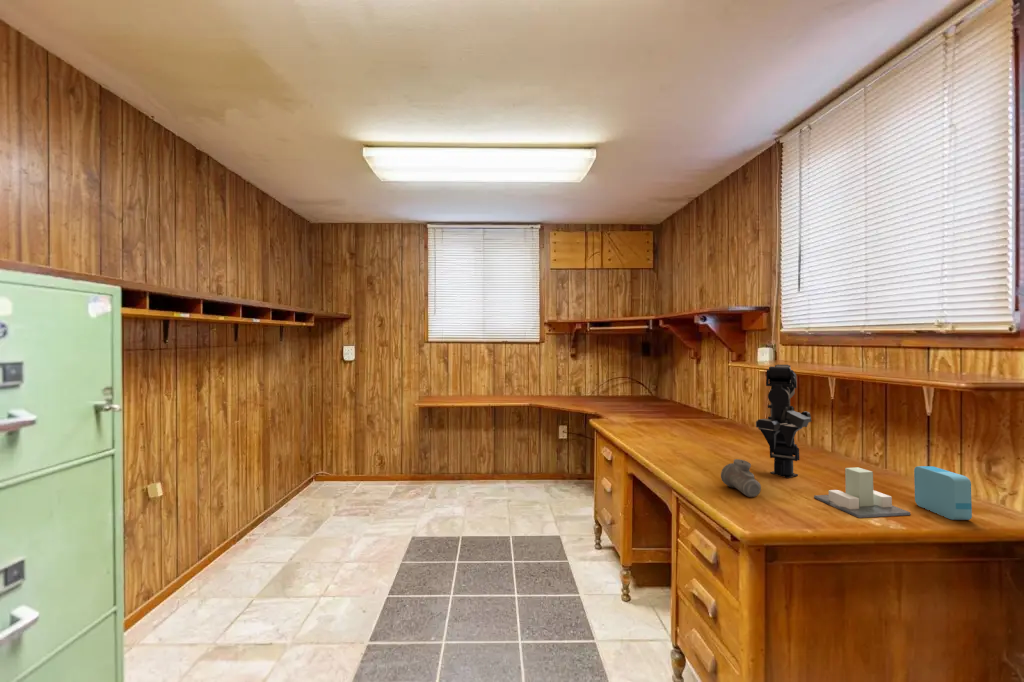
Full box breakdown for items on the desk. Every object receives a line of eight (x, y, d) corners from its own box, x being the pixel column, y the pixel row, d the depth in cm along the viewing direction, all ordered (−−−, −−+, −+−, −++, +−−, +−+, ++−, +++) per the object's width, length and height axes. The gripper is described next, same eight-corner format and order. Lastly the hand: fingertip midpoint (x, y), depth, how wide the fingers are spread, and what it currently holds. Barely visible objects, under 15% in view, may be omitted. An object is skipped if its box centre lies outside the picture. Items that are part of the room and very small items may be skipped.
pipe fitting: (718, 484, 141) (722, 455, 140) (740, 485, 142) (744, 457, 141) (739, 501, 129) (743, 470, 128) (763, 502, 130) (768, 471, 129)
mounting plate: (858, 517, 114) (858, 514, 114) (814, 498, 129) (814, 495, 129) (910, 515, 115) (910, 512, 115) (860, 495, 130) (860, 493, 130)
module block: (845, 500, 124) (845, 467, 124) (859, 500, 124) (858, 467, 125) (859, 506, 120) (859, 472, 120) (873, 505, 120) (872, 471, 120)
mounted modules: (849, 509, 118) (849, 498, 118) (828, 500, 125) (828, 490, 125) (891, 506, 119) (891, 496, 119) (868, 498, 126) (868, 488, 126)
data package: (972, 522, 110) (971, 477, 111) (954, 521, 111) (953, 477, 111) (930, 504, 122) (929, 464, 123) (914, 504, 123) (913, 464, 123)
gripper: (788, 406, 130) (789, 456, 129) (821, 403, 138) (822, 450, 138) (754, 403, 140) (755, 448, 139) (787, 400, 148) (787, 443, 148)
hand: (781, 447), depth 141 cm, fingers open, 9 cm apart
